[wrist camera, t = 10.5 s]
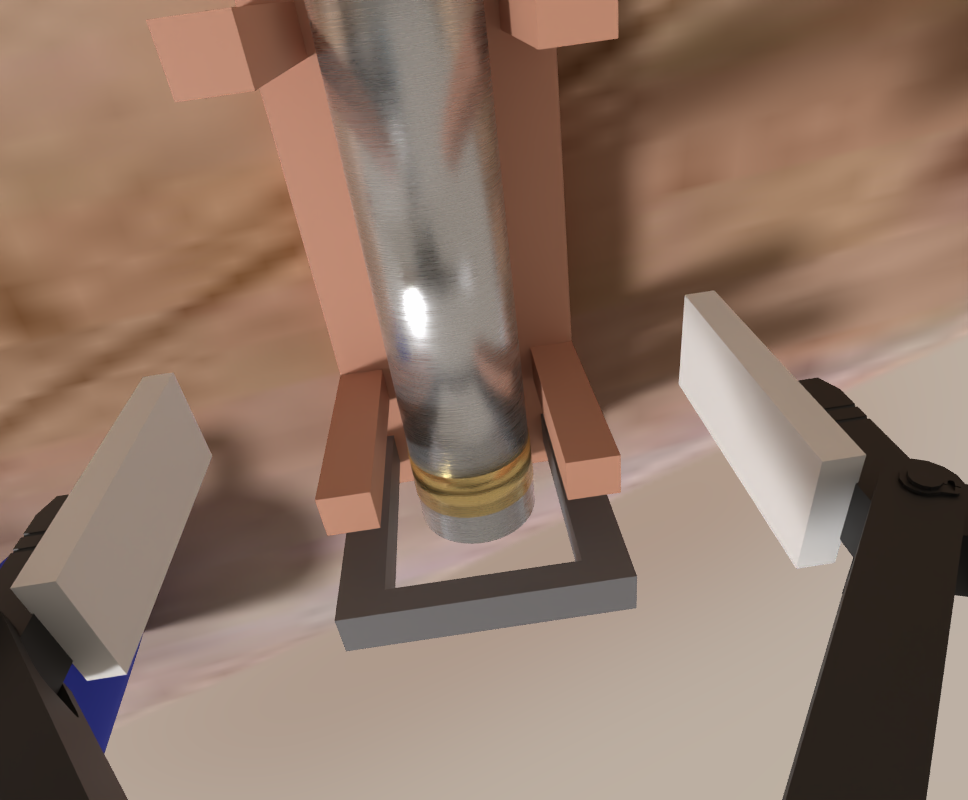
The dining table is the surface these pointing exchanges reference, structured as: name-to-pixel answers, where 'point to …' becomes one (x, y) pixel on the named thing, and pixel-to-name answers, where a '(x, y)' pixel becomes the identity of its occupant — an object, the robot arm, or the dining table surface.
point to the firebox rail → (356, 331)
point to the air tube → (434, 246)
